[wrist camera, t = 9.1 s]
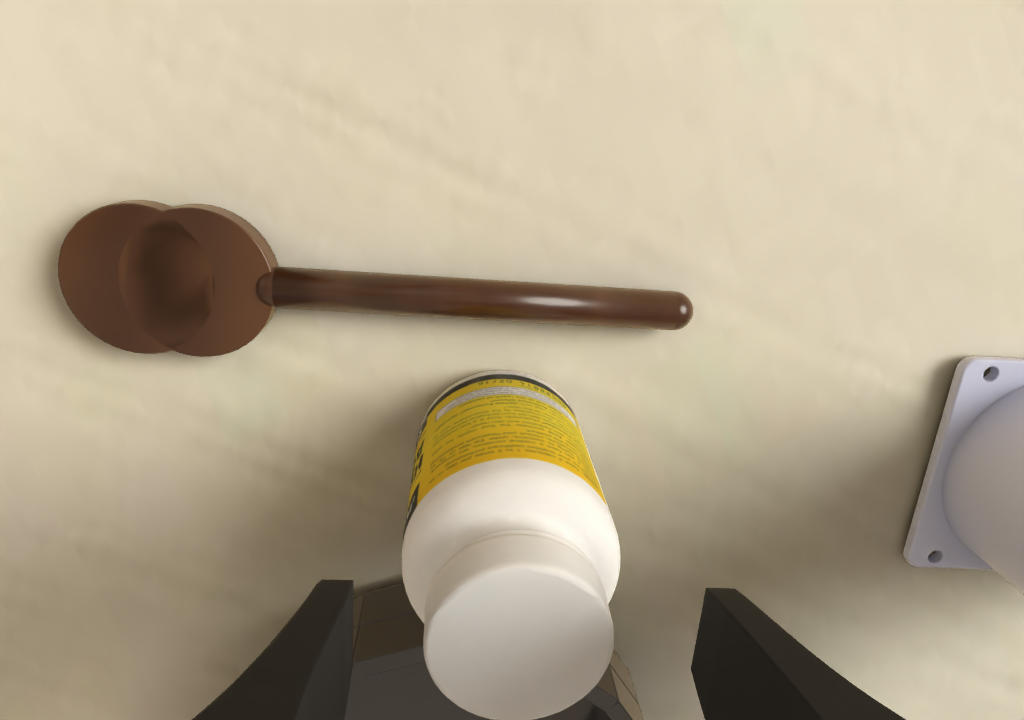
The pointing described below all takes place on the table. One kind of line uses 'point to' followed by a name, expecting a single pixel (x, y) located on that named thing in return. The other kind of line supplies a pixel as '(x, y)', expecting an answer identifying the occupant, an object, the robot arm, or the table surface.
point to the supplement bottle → (509, 549)
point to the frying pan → (409, 686)
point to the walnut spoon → (283, 285)
